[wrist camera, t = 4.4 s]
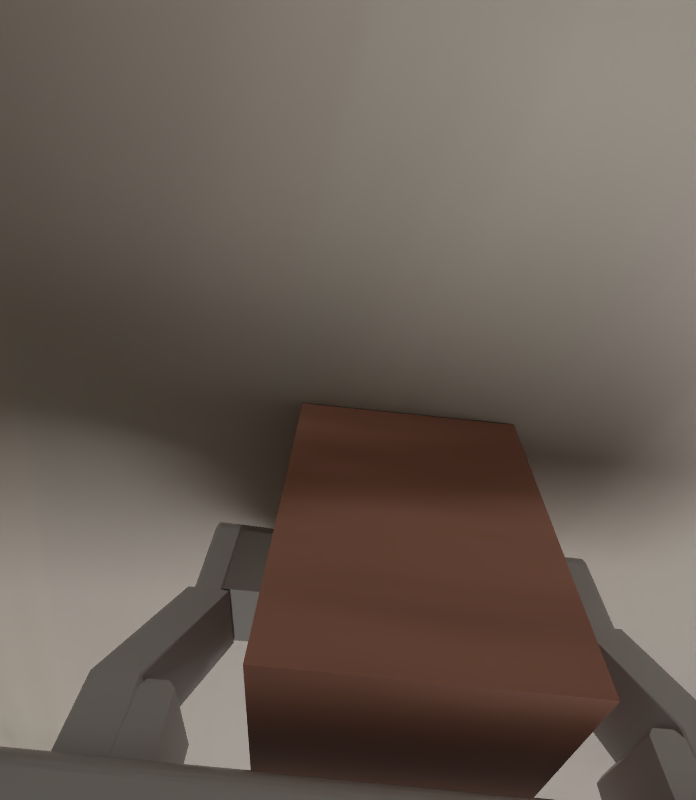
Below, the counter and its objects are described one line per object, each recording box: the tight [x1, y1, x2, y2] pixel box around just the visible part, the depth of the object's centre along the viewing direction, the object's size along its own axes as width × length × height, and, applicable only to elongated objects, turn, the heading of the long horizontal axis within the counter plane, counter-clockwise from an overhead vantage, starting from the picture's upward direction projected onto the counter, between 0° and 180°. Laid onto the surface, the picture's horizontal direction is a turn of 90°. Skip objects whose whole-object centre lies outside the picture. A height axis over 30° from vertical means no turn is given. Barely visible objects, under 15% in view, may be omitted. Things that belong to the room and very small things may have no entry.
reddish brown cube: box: [243, 403, 620, 798], centre depth 10 cm, size 5×5×6 cm
